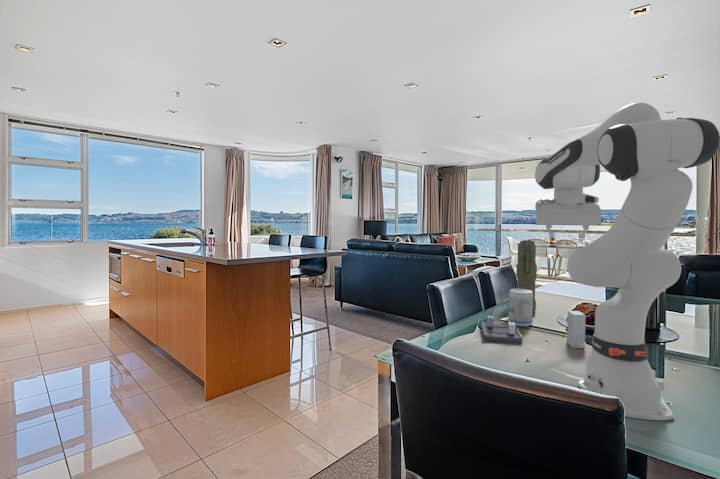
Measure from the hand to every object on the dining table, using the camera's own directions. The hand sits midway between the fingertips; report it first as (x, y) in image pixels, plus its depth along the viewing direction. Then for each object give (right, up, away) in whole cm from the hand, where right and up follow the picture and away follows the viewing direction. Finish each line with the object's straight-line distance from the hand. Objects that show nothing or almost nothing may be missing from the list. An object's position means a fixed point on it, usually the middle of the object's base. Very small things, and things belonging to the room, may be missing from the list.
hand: (566, 238), depth 133 cm
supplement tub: (-3, -37, +31) cm, 49 cm away
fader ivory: (-15, -36, +11) cm, 41 cm away
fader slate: (-20, -36, +21) cm, 46 cm away
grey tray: (-17, -38, +16) cm, 45 cm away
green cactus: (+7, -36, +48) cm, 61 cm away
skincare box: (+6, -39, +4) cm, 40 cm away
